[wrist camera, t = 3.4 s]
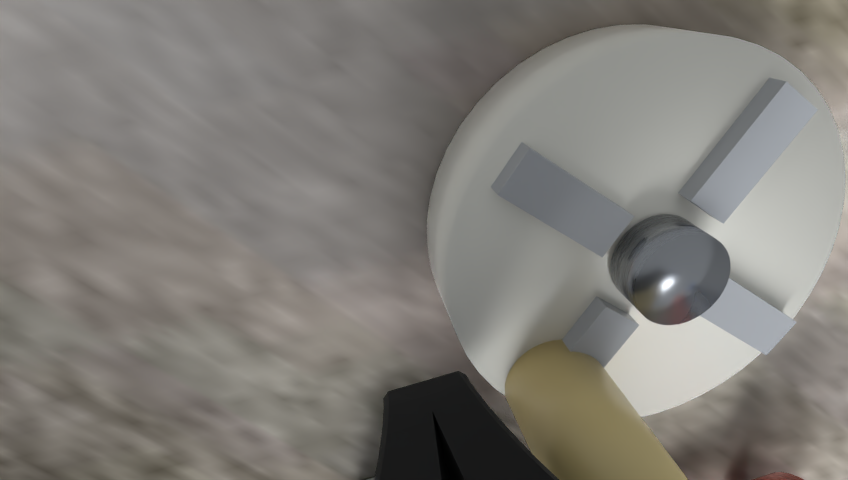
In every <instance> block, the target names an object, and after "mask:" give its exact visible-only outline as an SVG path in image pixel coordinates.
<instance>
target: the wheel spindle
mask: <svg viewBox="0 0 848 480" xmlns="http://www.w3.org/2000/svg"><path fill="white" fill-rule="evenodd" d="M730 268H731V266H730V257H729V254H728V252H727V250H726V248H725V247H724V245H723V244H722V243H721V242H720V241H718V240H717V239H715V238H714V237H712V236H711V235H709V234H708V233H706V232H705V231H703V230H702V229H700V228H699V227H697V226H695V225H694V224H692V223H691V222H689V221H688V220H686V219H684V218H683V217H680V216H677V215H672V214H661V215H656V216H652V217H649V218H647V219H644V220H642V221H641V222H639V223H637V224H636V225H634V226H633V227H632V228H631V229H630V230H628V231H627V232H626V233H625V235H624V236H623V237H622V238H621V240H620V241H619V242H618V244H617V246H616V248H615V250H614V252H613V255H612V259H611V265H610V272H611V278H612V281H613V283H614V285H615V287H616V288H617V289H618V290H619V291H620V292H621V294H622V295H623V296H624V297H625V298H626V299H627V300H628V301H629V302H630V303H631V304H632V305H633V306H634V307H635V308H636V309H637V310H638V311H639V312H640V313H641V314H642V315H643V316H644V317H645V318H647V319H648V320H650V321H651V322H654V323H657V324H660V325H677V324H682V323H685V322H688V321H690V320H692V319H695V318H696V317H698V316H700V315H701V314H703V313H704V312H706V311H707V310H708V309H709V308H710V307H711V306H712V305H713V304H714V303H715V302H716V301H717V300H718V298H719V297H720V296H721V294H722V293H723V291H724V289H725V287H726V285H727V282H728V279H729V275H730Z"/></svg>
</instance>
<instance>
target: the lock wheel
mask: <svg viewBox="0 0 848 480" xmlns="http://www.w3.org/2000/svg"><path fill="white" fill-rule="evenodd" d="M844 194H845V164H844V153H843V149H842V144H841V140H840V135H839V131H838V128H837V126H836V123H835V121H834V118H833V116H832V113H831V111H830V109H829V107H828V106H827V104H826V102H825V101H824V99H823V97H822V96H821V94H820V93H819V91H818V89H817V88H816V87H815V86H814V85H813V84H812V83H811V81H810V80H809V79H808V78H807V77H806V76H805V75H804V74H803V73H802V72H801V71H800V70H799V69H798V68H796V67H795V66H794V65H792V64H791V63H790V62H788V61H787V60H786V59H785V58H783V57H782V56H780V55H778V54H776V53H774V52H772V51H770V50H768V49H766V48H764V47H762V46H760V45H758V44H755V43H751V42H748V41H745V40H742V39H738V38H735V37H730V36H723V35H717V34H710V33H703V32H697V31H690V30H683V29H677V28H670V27H662V26H655V25H647V24H633V25H615V26H610V27H604V28H598V29H593V30H589V31H586V32H583V33H580V34H577V35H574V36H571V37H568V38H565V39H563V40H561V41H559V42H557V43H555V44H553V45H550V46H548V47H546V48H544V49H542V50H540V51H539V52H537V53H536V54H534V55H533V56H531V57H529V58H528V59H526V60H525V61H523V62H522V63H520V64H518V65H517V66H516V67H515V68H513V69H512V70H511V71H510V72H509V73H507V74H506V75H505V76H504V77H503V78H501V79H500V80H499V81H498V82H496V83H495V84H494V86H493V87H492V88H491V89H490V90H489V91H488V92H487V93H486V94H485V95H484V96H483V97H482V98H481V99H480V100H479V101H478V102H477V103H476V105H475V106H474V107H473V109H472V110H471V112H470V113H469V114H468V116H467V117H466V118H465V120H464V121H463V122H462V124H461V125H460V127H459V128H458V130H457V132H456V134H455V135H454V137H453V139H452V141H451V142H450V144H449V146H448V148H447V149H446V152H445V154H444V157H443V159H442V162H441V164H440V166H439V169H438V171H437V174H436V177H435V181H434V185H433V189H432V192H431V196H430V201H429V209H428V217H427V248H428V255H429V261H430V267H431V271H432V274H433V277H434V280H435V283H436V287H437V289H438V291H439V294H440V296H441V299H442V301H443V303H444V306H445V308H446V311H447V313H448V315H449V318H450V320H451V323H452V325H453V327H454V330H455V332H456V335H457V337H458V339H459V341H460V343H461V345H462V347H463V349H464V351H465V353H466V355H467V357H468V358H469V359H470V361H471V362H472V364H473V365H474V366H475V368H476V369H477V371H478V372H479V373H480V374H481V375H482V376H483V377H484V378H485V379H486V380H487V381H488V382H489V383H490V384H491V385H492V386H493V387H494V388H495V389H496V390H498V391H499V392H500V393H502V394H503V395H504V396H506V400H507V402H508V404H509V406H510V408H511V410H512V412H513V415H514V417H515V419H516V421H517V423H518V425H519V427H520V429H521V432H522V434H523V436H524V438H525V440H526V442H527V444H528V446H529V449H530V451H531V453H532V454H533V455H534V456H535V457H536V458H537V459H538V460H539V461H540V462H541V463H542V464H543V465H544V466H545V467H546V468H547V469H548V470H550V471H551V472H552V473H553V474H554V475H555V476H556V477H557V478H558V479H559V480H688V479H687V477H686V476H685V475H684V474H683V472H682V471H681V470H680V468H679V467H678V466H677V464H676V463H675V462H674V460H673V459H672V458H671V456H670V455H669V454H668V452H667V451H666V450H665V448H664V447H663V446H662V444H661V443H660V442H659V440H658V439H657V438H656V436H655V435H654V434H653V432H652V431H651V430H650V428H649V427H648V426H647V424H646V423H645V422H644V421H643V419H642V418H641V417H644V416H648V415H652V414H656V413H659V412H662V411H665V410H668V409H671V408H673V407H676V406H679V405H681V404H683V403H686V402H688V401H690V400H692V399H694V398H696V397H699V396H701V395H703V394H704V393H706V392H708V391H709V390H711V389H713V388H715V387H716V386H718V385H720V384H722V383H723V382H725V381H726V380H727V379H729V378H730V377H732V376H733V375H735V374H736V373H737V372H739V371H740V370H742V369H743V368H744V367H745V366H746V365H748V364H749V363H750V362H751V361H752V360H754V359H755V358H756V357H757V356H758V355H760V354H761V353H763V354H765V355H767V354H768V353H769V352H770V351H771V350H772V349H773V348H774V346H775V345H776V344H777V343H778V342H779V341H780V340H781V339H782V338H783V337H784V336H785V334H786V333H787V332H788V331H789V330H790V329H791V328H792V327H793V326H794V325H795V324H796V321H794V320H793V318H794V317H795V316H796V314H797V313H798V311H799V310H800V308H801V307H802V305H803V304H804V303H805V301H806V300H807V298H808V297H809V295H810V294H811V292H812V290H813V288H814V286H815V285H816V283H817V281H818V279H819V278H820V276H821V274H822V272H823V270H824V267H825V265H826V263H827V260H828V258H829V256H830V253H831V251H832V248H833V245H834V242H835V239H836V236H837V232H838V229H839V226H840V220H841V215H842V210H843V205H844ZM661 214H672V215H677V216H680V217H683V218H684V219H686V220H688V221H689V222H691V223H692V224H694V225H695V226H697V227H699V228H700V229H702V230H703V231H705V232H706V233H708V234H709V235H711V236H712V237H714V238H715V239H717V240H718V241H720V242H721V243H722V244H723V245H724V247H725V248H726V250H727V252H728V254H729V257H730V266H731V268H730V275H729V279H728V282H727V285H726V287H725V289H724V291H723V293H722V294H721V296H720V297H719V298H718V300H717V301H716V302H715V303H714V304H713V305H712V306H711V307H710V308H709V309H708V310H707V311H706V312H704V313H703V314H701V315H700V316H698V317H696V318H695V319H692V320H690V321H688V322H685V323H682V324H677V325H660V324H657V323H654V322H651V321H650V320H648V319H647V318H645V317H644V316H643V315H642V314H641V313H640V312H639V311H638V310H637V309H636V308H635V307H634V306H633V305H632V304H631V303H630V302H629V301H628V300H627V299H626V298H625V297H624V296H623V295H622V294H621V292H620V291H619V290H618V289H617V288H616V287H615V285H614V283H613V281H612V278H611V272H610V265H611V259H612V255H613V252H614V250H615V248H616V246H617V244H618V242H619V241H620V240H621V238H622V237H623V236H624V235H625V233H626V232H627V231H628V230H630V229H631V228H632V227H633V226H634V225H636V224H637V223H639V222H641V221H642V220H644V219H647V218H649V217H652V216H656V215H661Z"/></svg>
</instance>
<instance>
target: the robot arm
mask: <svg viewBox="0 0 848 480" xmlns="http://www.w3.org/2000/svg"><path fill="white" fill-rule="evenodd" d="M383 400H384V414H383V428H382V437H381V445H380V451H379V458H378V464H377V469H376V474H375V479H374V480H559V479H558V478H557V477H556V476H555V475H554V474H553V473H552V472H551V471H550V470H548V469H547V468H546V467H545V466H544V465H543V464H542V463H541V462H540V461H539V460H538V459H537V458H536V457H535V456H534V455H533V454H532V453H531V452H530V451H529V450H528V449H527V448H526V447H525V446H524V445H523V444H522V443H521V442H520V441H519V440H518V439H517V438H516V437H515V435H514V434H513V433H512V432H511V431H510V430H509V429H508V428H507V427H506V426H505V425H504V424H503V423H502V421H501V420H500V419H499V418H498V417H497V416H496V414H495V413H494V412H493V411H492V410H491V409H490V407H489V406H488V405H487V404H486V403H485V401H484V400H483V399H482V398H481V396H480V395H479V394H478V392H477V391H476V390H475V388H474V387H473V385H472V384H471V382H470V381H469V379H468V378H467V376H466V375H465V374H463V373H461V372H459V371H457V372H454V373H450V374H447V375H443V376H440V377H437V378H433V379H430V380H426V381H423V382H419V383H416V384H413V385H409V386H406V387H402V388H399V389H395V390H392V391H388V393H387V394H386V396H385V397H384V399H383Z"/></svg>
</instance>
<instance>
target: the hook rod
mask: <svg viewBox="0 0 848 480" xmlns="http://www.w3.org/2000/svg"><path fill="white" fill-rule="evenodd" d="M752 480H803V479H801V478H800V477H797V476H794V475H792V474H788V473H783V472H776V473H771V474H768V475H765V476H762V477H759V478H756V479H752Z"/></svg>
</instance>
